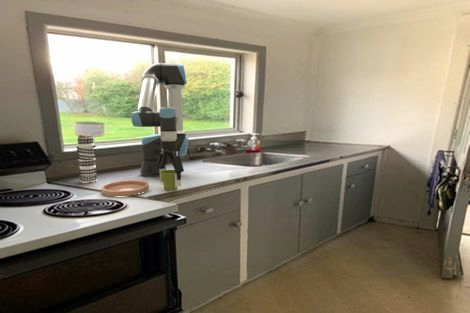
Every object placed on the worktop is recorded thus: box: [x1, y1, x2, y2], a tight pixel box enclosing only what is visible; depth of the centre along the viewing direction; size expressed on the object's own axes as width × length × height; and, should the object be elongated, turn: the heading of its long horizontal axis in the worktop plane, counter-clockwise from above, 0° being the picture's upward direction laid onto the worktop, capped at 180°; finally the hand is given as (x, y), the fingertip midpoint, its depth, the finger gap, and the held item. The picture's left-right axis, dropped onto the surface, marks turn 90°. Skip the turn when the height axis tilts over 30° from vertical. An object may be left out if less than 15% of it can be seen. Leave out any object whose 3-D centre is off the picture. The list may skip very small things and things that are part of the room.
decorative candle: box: [76, 133, 98, 184], centre depth 160 cm, size 9×9×25 cm
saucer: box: [100, 179, 150, 197], centre depth 144 cm, size 21×21×2 cm
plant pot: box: [160, 169, 178, 191], centre depth 146 cm, size 9×9×9 cm
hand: (170, 184), depth 146 cm, fingers open, 13 cm apart
